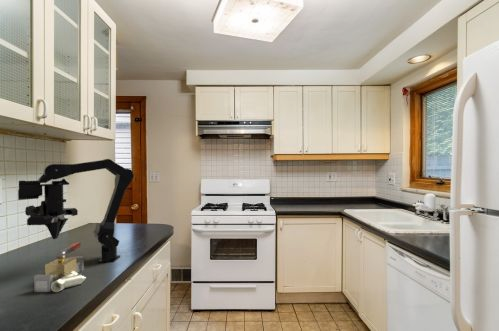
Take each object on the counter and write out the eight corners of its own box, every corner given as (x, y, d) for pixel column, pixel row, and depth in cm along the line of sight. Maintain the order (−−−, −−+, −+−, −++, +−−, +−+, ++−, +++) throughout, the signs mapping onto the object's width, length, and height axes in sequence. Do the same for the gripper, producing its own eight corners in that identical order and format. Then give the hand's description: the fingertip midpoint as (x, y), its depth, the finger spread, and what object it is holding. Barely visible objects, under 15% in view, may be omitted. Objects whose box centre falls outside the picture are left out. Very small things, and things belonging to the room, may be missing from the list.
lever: (63, 258, 92) (63, 253, 92) (53, 258, 92) (53, 253, 92) (82, 246, 104) (82, 242, 104) (73, 247, 104) (73, 242, 104)
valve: (69, 269, 102) (69, 248, 102) (86, 269, 102) (85, 248, 102) (31, 292, 84) (31, 267, 84) (52, 291, 84) (51, 266, 84)
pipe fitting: (87, 282, 92) (68, 281, 92) (88, 271, 92) (69, 270, 92) (71, 294, 84) (50, 292, 84) (72, 282, 84) (51, 280, 84)
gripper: (50, 194, 109) (51, 232, 109) (10, 201, 91) (11, 247, 91) (78, 194, 109) (78, 232, 110) (43, 200, 91) (44, 246, 91)
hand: (54, 238), depth 100 cm, fingers closed
